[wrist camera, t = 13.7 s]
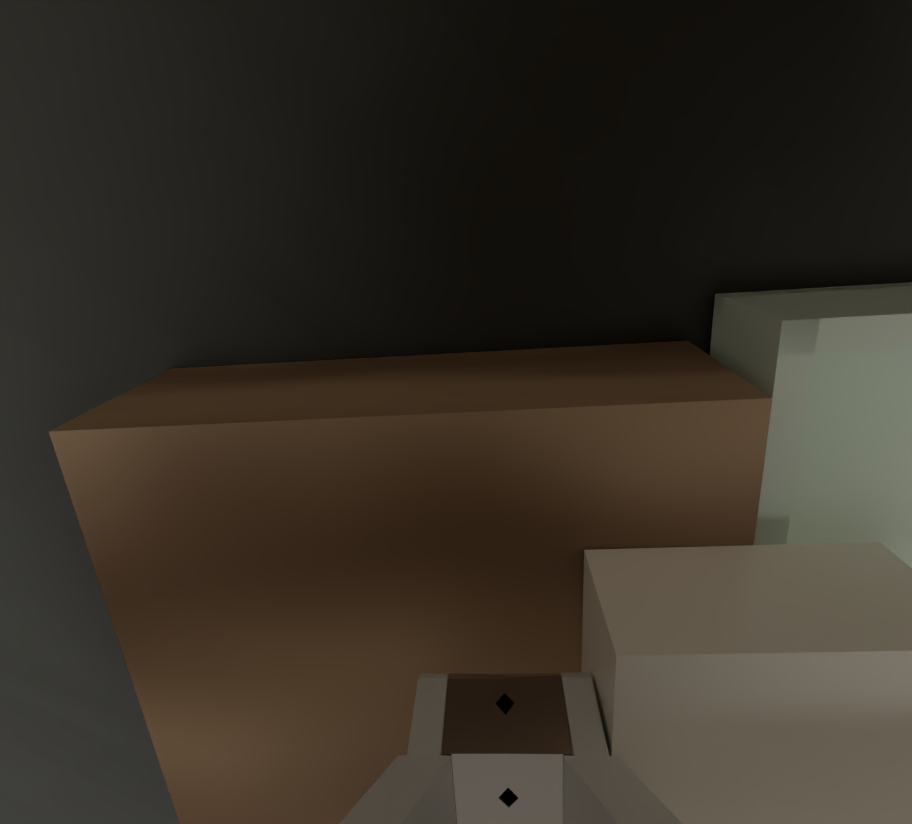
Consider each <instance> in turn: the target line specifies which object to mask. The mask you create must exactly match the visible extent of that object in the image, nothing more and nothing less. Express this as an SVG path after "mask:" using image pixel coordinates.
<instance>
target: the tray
mask: <svg viewBox="0 0 912 824" xmlns="http://www.w3.org/2000/svg"><path fill="white" fill-rule="evenodd" d="M710 356H711V357H713V358H714V359H716V360H717V361H719V362H720V363H722V364H723V365H724V366H726V367H727V368H729V369H730V370H732V371H733V372H735V373H736V374H738V375H739V376H741V377H742V378H743V379H745V380H746V381H748V382H749V383H751V384H752V385H754V386H755V387H757V388H758V389H760V390H761V391H762V392H764V393H765V394H767V395H768V396H770V397H771V398H772V403H771V410H770V418H769V426H768V434H767V442H766V450H765V458H764V466H763V474H762V482H761V489H760V497H759V505H758V513H757V521H756V529H755V537H754V545H780V544H817V543H854V542H881V543H882V544H883V545H884V546H886V547H887V548H888V549H889V550H890V551H892V552H893V553H894V554H895V555H896V556H897V557H899V558H900V559H901V560H902V561H903V562H905V563H906V564H907V565H908V566H909V567H911V568H912V282H907V283H890V284H873V285H856V286H839V287H822V288H806V289H789V290H772V291H755V292H738V293H721V294H715V300H714V311H713V323H712V335H711V347H710Z"/></svg>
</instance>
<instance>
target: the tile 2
mask: <svg viewBox="0 0 912 824" xmlns="http://www.w3.org/2000/svg"><path fill="white" fill-rule="evenodd" d="M581 672H589V674H590V675H591V677H592V681H593V685H594V690H595V694H596V699H597V703H598V707H599V712H600V716H601V721H602V725H603V730H604V734H605V739H606V743H607V748H608V752H609V756H619V757H620V758H621V759H622V760H623V761H624V763H625V764H626V765H627V766H628V767H629V768H630V769H631V770H632V771H633V772H634V773H635V774H636V775H637V776H638V777H639V778H640V779H641V780H642V782H643V783H644V784H645V785H646V786H647V787H648V788H649V789H650V790H651V791H652V792H653V793H654V794H655V795H656V796H657V797H658V798H659V799H660V801H661V802H662V803H663V804H664V805H665V806H666V807H667V808H668V809H669V810H670V811H671V812H672V813H673V814H674V815H675V816H676V817H677V818H678V820H679V821H680V822H681V823H682V824H912V568H911V567H909V566H908V565H907V564H906V563H905V562H903V561H902V560H901V559H900V558H899V557H897V556H896V555H895V554H894V553H893V552H892V551H890V550H889V549H888V548H887V547H886V546H884V545H883V544H882V543H881V542H854V543H817V544H780V545H743V546H706V547H669V548H632V549H595V550H584V577H583V621H582V665H581Z"/></svg>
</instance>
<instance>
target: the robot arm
mask: <svg viewBox="0 0 912 824" xmlns="http://www.w3.org/2000/svg"><path fill="white" fill-rule="evenodd" d="M339 824H682V823H681V822H680V821H679V820H678V818H677V817H676V816H675V815H674V814H673V813H672V812H671V811H670V810H669V809H668V808H667V807H666V806H665V805H664V804H663V803H662V802H661V801H660V799H659V798H658V797H657V796H656V795H655V794H654V793H653V792H652V791H651V790H650V789H649V788H648V787H647V786H646V785H645V784H644V783H643V782H642V780H641V779H640V778H639V777H638V776H637V775H636V774H635V773H634V772H633V771H632V770H631V769H630V768H629V767H628V766H627V765H626V764H625V763H624V761H623V760H622V759H621V758H620V757H619V756H609V752H608V748H607V743H606V739H605V734H604V730H603V725H602V721H601V716H600V712H599V707H598V703H597V699H596V694H595V690H594V685H593V681H592V677H591V675H590V674H589V672H575V673H560V674H559V673H522V674H467V673H449V674H435V673H421V674H420V677H419V679H418V683H417V690H416V697H415V704H414V710H413V717H412V724H411V730H410V737H409V744H408V751H407V755H398V756H397V757H396V758H395V760H394V761H393V762H392V763H391V764H390V765H389V767H388V768H387V769H386V770H385V771H384V772H383V773H382V775H381V776H380V777H379V778H378V779H377V780H376V782H375V783H374V784H373V785H372V786H371V787H370V788H369V790H368V791H367V792H366V793H365V794H364V795H363V797H362V798H361V799H360V800H359V801H358V802H357V803H356V805H355V806H354V807H353V808H352V809H351V810H350V812H349V813H348V814H347V815H346V816H345V817H344V818H343V820H342V821H341V822H340V823H339Z"/></svg>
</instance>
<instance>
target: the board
mask: <svg viewBox="0 0 912 824" xmlns="http://www.w3.org/2000/svg"><path fill="white" fill-rule="evenodd" d="M771 403H772V398H771V397H770V396H768V395H767V394H765V393H764V392H762V391H761V390H760V389H758V388H757V387H755V386H754V385H752V384H751V383H749V382H748V381H746V380H745V379H743V378H742V377H741V376H739V375H738V374H736V373H735V372H733V371H732V370H730V369H729V368H727V367H726V366H724V365H723V364H722V363H720V362H719V361H717V360H716V359H714V358H713V357H711V356H710V355H708V354H707V353H705V352H704V351H703V350H701V349H700V348H698V347H697V346H695V345H694V344H692V343H691V342H689V341H671V342H652V343H634V344H615V345H596V346H578V347H559V348H541V349H522V350H503V351H485V352H466V353H448V354H429V355H410V356H392V357H373V358H355V359H336V360H317V361H299V362H280V363H262V364H243V365H224V366H206V367H187V368H170V369H168V370H166V371H164V372H162V373H160V374H158V375H156V376H155V377H153V378H151V379H149V380H147V381H145V382H143V383H141V384H139V385H137V386H135V387H133V388H131V389H129V390H128V391H126V392H124V393H122V394H120V395H118V396H116V397H114V398H112V399H110V400H108V401H106V402H104V403H103V404H101V405H99V406H97V407H95V408H93V409H91V410H89V411H87V412H85V413H83V414H81V415H79V416H78V417H76V418H74V419H72V420H70V421H68V422H66V423H64V424H62V425H60V426H58V427H56V428H54V429H53V430H51V431H49V434H50V437H51V440H52V443H53V446H54V449H55V452H56V455H57V458H58V461H59V464H60V467H61V470H62V473H63V476H64V479H65V482H66V485H67V488H68V491H69V494H70V497H71V500H72V503H73V506H74V509H75V512H76V515H77V518H78V521H79V524H80V527H81V530H82V533H83V536H84V539H85V542H86V545H87V548H88V551H89V554H90V557H91V560H92V563H93V566H94V569H95V572H96V575H97V578H98V581H99V584H100V587H101V590H102V593H103V596H104V599H105V602H106V605H107V608H108V611H109V614H110V616H111V619H112V622H113V625H114V628H115V631H116V634H117V637H118V640H119V643H120V646H121V649H122V652H123V655H124V658H125V661H126V664H127V667H128V670H129V673H130V676H131V679H132V682H133V685H134V688H135V691H136V694H137V697H138V700H139V703H140V706H141V709H142V712H143V715H144V718H145V721H146V724H147V727H148V730H149V733H150V736H151V739H152V742H153V745H154V748H155V751H156V754H157V757H158V760H159V763H160V766H161V769H162V772H163V775H164V778H165V781H166V784H167V787H168V790H169V793H170V796H171V799H172V802H173V805H174V808H175V811H176V814H177V817H178V820H179V823H180V824H339V823H340V822H341V821H342V820H343V818H344V817H345V816H346V815H347V814H348V813H349V812H350V810H351V809H352V808H353V807H354V806H355V805H356V803H357V802H358V801H359V800H360V799H361V798H362V797H363V795H364V794H365V793H366V792H367V791H368V790H369V788H370V787H371V786H372V785H373V784H374V783H375V782H376V780H377V779H378V778H379V777H380V776H381V775H382V773H383V772H384V771H385V770H386V769H387V768H388V767H389V765H390V764H391V763H392V762H393V761H394V760H395V758H396V757H397V756H398V755H407V751H408V744H409V737H410V730H411V724H412V717H413V710H414V704H415V697H416V690H417V683H418V679H419V677H420V674H421V673H435V674H449V673H467V674H522V673H559V674H560V673H575V672H581V665H582V621H583V577H584V550H595V549H632V548H669V547H706V546H743V545H754V537H755V529H756V521H757V513H758V505H759V497H760V489H761V482H762V474H763V466H764V458H765V450H766V442H767V434H768V426H769V418H770V410H771Z"/></svg>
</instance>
